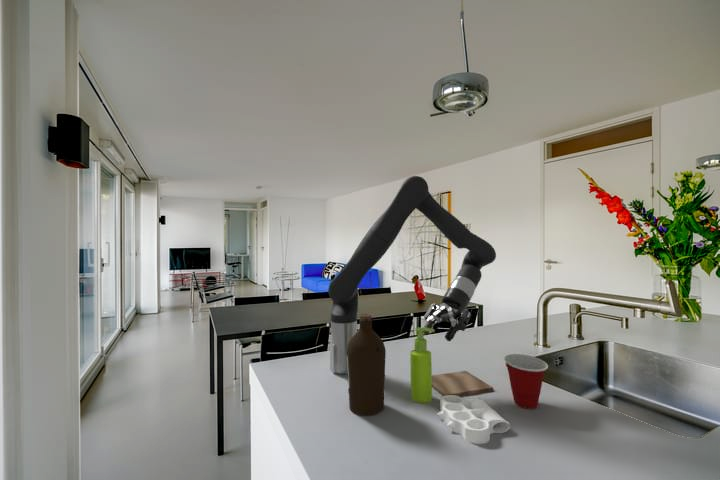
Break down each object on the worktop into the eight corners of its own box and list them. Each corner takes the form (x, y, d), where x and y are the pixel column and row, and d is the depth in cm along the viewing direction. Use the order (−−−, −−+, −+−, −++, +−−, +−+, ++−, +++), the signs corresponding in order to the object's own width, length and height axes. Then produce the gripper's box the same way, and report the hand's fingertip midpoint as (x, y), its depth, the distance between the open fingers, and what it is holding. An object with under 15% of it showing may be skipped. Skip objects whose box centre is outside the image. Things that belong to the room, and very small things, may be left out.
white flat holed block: (518, 441, 77) (457, 448, 74) (478, 404, 94) (427, 409, 92) (518, 426, 77) (457, 433, 74) (477, 392, 94) (427, 396, 92)
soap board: (445, 398, 97) (445, 394, 97) (422, 379, 111) (422, 376, 111) (493, 390, 102) (493, 387, 102) (465, 373, 115) (465, 370, 115)
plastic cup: (531, 418, 86) (530, 370, 86) (496, 400, 95) (495, 357, 96) (558, 407, 91) (557, 362, 91) (522, 392, 100) (521, 351, 101)
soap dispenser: (435, 404, 94) (434, 331, 94) (410, 402, 95) (409, 330, 96) (435, 394, 100) (434, 326, 100) (411, 392, 101) (410, 325, 101)
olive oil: (391, 401, 96) (389, 312, 96) (379, 420, 86) (377, 320, 86) (356, 396, 99) (354, 310, 100) (340, 413, 90) (339, 317, 90)
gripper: (436, 284, 112) (411, 324, 105) (473, 288, 101) (449, 334, 94) (446, 298, 115) (424, 338, 108) (484, 304, 104) (461, 349, 97)
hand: (435, 336), depth 101 cm, fingers open, 8 cm apart
